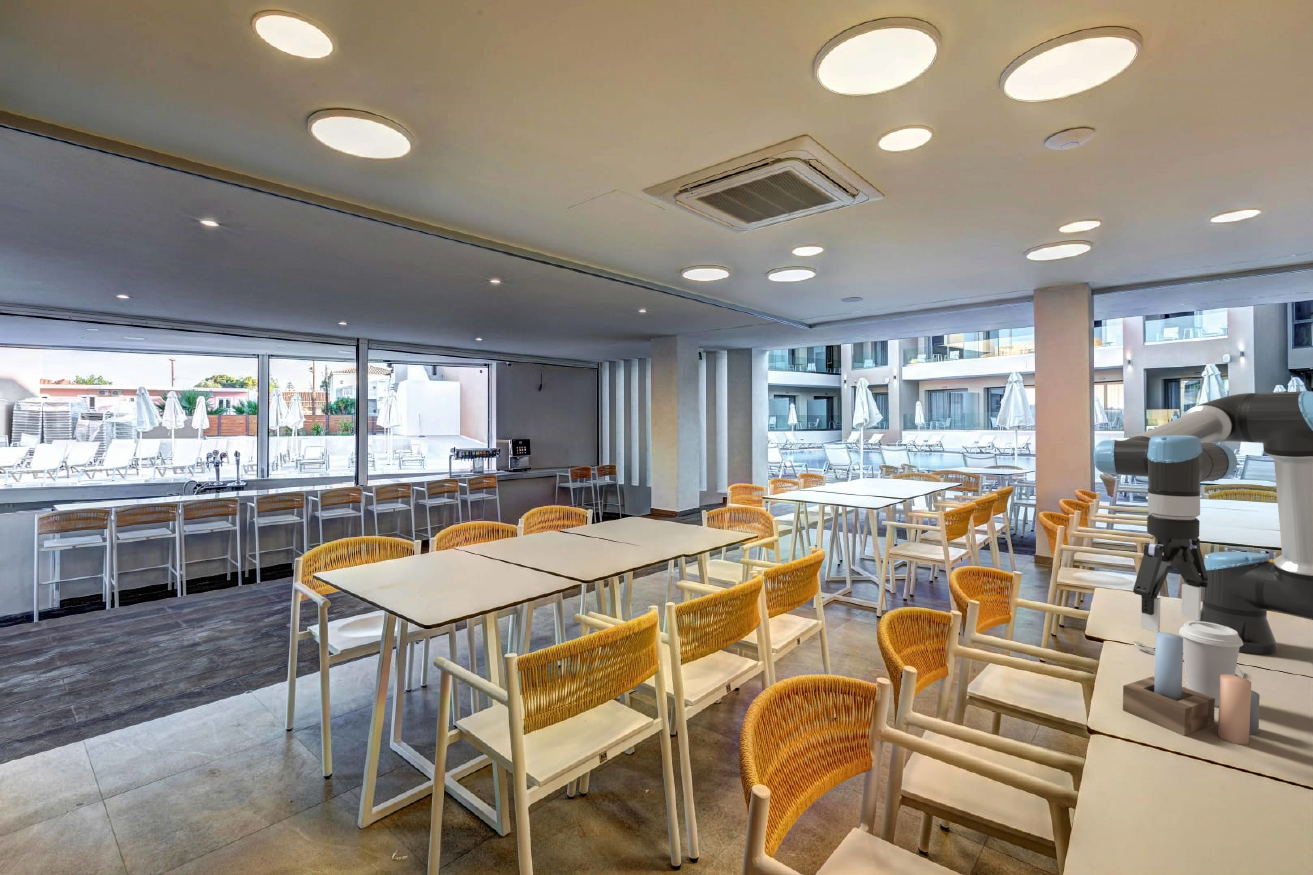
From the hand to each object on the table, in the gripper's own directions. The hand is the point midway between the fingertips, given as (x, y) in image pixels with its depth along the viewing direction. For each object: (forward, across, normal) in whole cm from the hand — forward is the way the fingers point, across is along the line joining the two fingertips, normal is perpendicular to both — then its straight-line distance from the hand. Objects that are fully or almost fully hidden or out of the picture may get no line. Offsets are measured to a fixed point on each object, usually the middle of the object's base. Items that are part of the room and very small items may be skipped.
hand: (1170, 624), depth 112 cm
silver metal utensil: (+19, -33, -13) cm, 40 cm away
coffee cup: (+19, -15, -1) cm, 24 cm away
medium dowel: (+18, -1, +9) cm, 20 cm away
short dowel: (+18, -7, +8) cm, 21 cm away
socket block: (+18, +1, 0) cm, 18 cm away
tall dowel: (+18, +1, 0) cm, 18 cm away
